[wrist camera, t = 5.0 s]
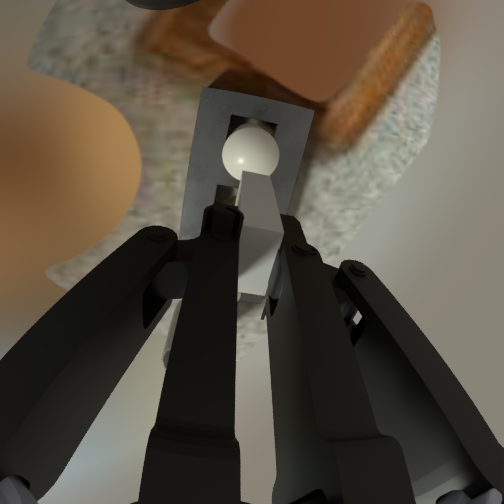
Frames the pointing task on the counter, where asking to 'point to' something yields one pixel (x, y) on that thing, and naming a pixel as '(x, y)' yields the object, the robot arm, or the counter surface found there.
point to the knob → (250, 151)
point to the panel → (211, 146)
